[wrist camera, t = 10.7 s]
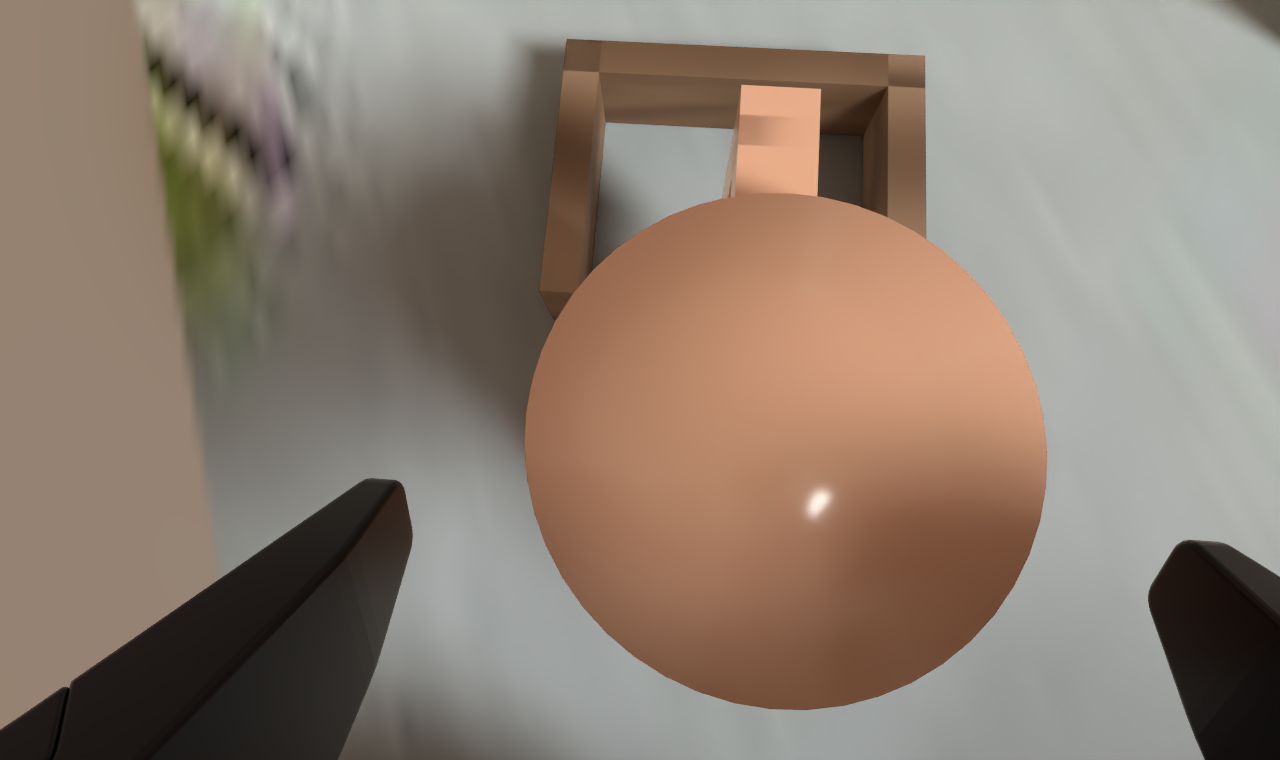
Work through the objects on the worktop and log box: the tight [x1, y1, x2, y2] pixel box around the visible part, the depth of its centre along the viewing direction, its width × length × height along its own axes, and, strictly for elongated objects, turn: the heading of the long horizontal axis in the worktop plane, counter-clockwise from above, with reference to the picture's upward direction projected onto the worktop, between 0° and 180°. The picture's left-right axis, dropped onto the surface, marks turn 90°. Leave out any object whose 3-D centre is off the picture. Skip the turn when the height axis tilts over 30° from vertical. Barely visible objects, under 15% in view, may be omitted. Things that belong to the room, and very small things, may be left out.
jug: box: [525, 85, 1047, 710], centre depth 14 cm, size 8×6×12 cm
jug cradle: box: [539, 39, 926, 319], centre depth 21 cm, size 8×10×2 cm
